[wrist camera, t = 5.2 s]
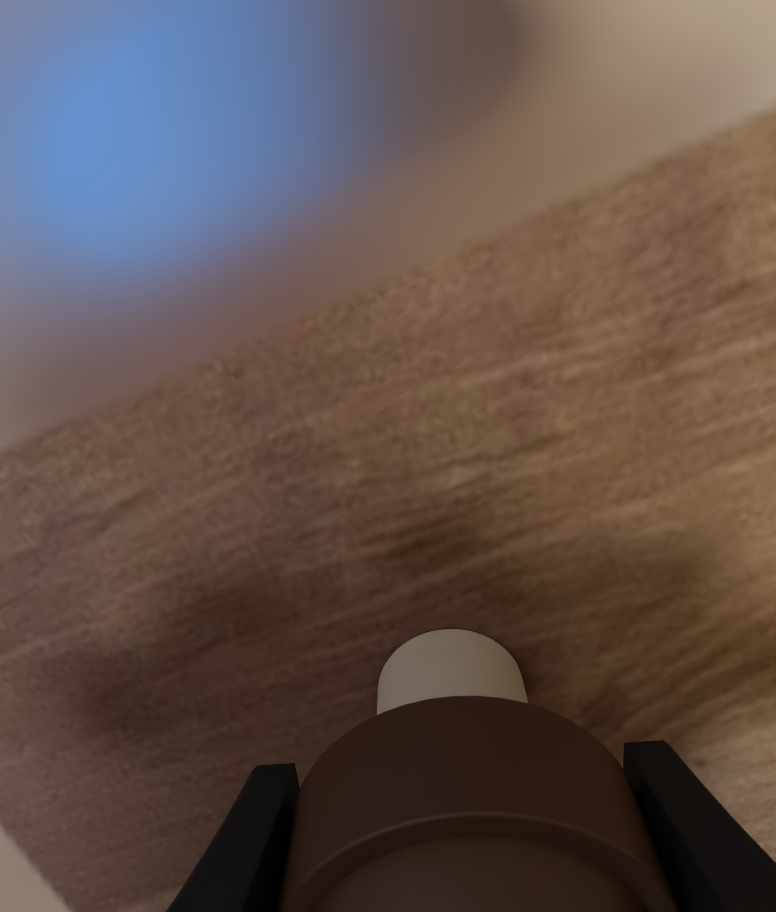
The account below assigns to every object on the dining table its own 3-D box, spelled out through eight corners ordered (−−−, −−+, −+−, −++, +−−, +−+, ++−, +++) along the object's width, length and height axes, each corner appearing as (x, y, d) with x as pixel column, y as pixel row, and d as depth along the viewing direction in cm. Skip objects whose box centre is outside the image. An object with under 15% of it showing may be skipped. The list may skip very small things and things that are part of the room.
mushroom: (334, 796, 15) (278, 1301, 8) (299, 582, 13) (191, 1008, 6) (584, 781, 15) (739, 1290, 8) (585, 560, 13) (790, 983, 6)
